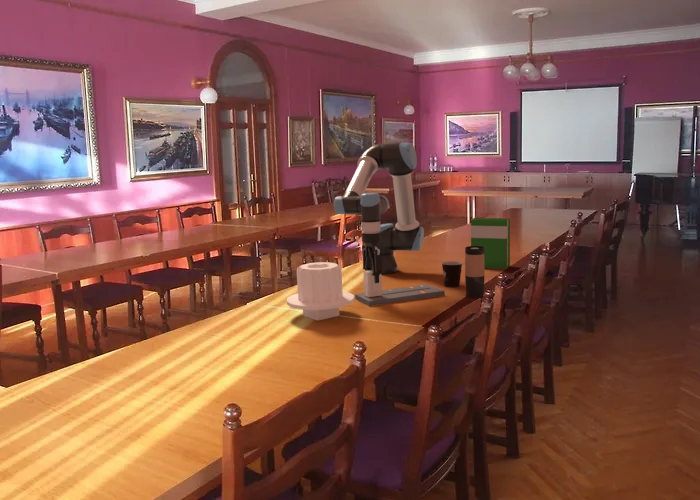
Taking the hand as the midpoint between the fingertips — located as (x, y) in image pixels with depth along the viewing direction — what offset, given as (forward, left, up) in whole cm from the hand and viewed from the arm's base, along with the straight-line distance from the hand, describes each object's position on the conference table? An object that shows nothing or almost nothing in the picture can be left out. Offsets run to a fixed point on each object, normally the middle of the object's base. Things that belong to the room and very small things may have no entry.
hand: (372, 289), depth 249 cm
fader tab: (0, 0, -3) cm, 3 cm away
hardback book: (-32, +79, -5) cm, 85 cm away
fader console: (0, +12, -5) cm, 13 cm away
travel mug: (+14, +39, -5) cm, 42 cm away
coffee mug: (-8, +42, -5) cm, 43 cm away
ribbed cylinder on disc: (+10, -26, -5) cm, 28 cm away
